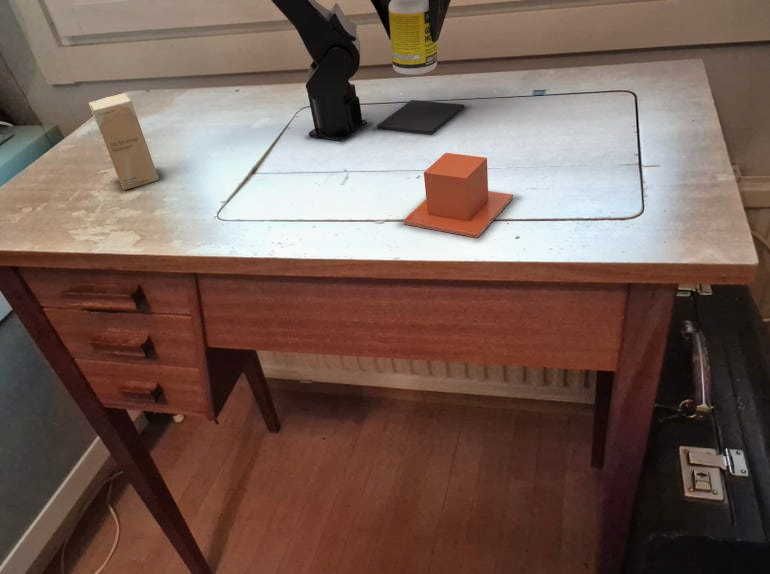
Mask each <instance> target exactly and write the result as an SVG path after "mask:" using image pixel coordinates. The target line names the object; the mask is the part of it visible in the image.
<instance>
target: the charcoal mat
mask: <svg viewBox="0 0 770 574" xmlns="http://www.w3.org/2000/svg"><path fill="white" fill-rule="evenodd" d="M465 106H466V105H465V104H464V103H453V102H441V101H428V100H416V99H411V100H410V101H408V102H407V103H405V104H404V105H403V106H401V107H400V108H399V109H397V110H396V111H395V112H394V113H391V115H389V116H387V118H385V119H384V120H382V121H381V122H380V123H378V124H377V125H376V129H377V130H384V131H385V130H386V131H395V132H404V133H411V134H412V133H413V134H421V135H422V134H423V135H430V136H431V135H433V134H434V133H436V132H437V131H438V130H439V129H440V128H442V127H443V126H444V125H445V124H446V123H448V122H450V121H451V120H452V118H454V117H455V116H456V115H457V114H459V113H460V112H462V110H464V109H465V108H466V107H465Z"/></svg>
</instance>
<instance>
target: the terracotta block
mask: <svg viewBox="0 0 770 574" xmlns="http://www.w3.org/2000/svg"><path fill="white" fill-rule="evenodd" d="M488 175H489V173H488V157H485V156H484V157H483V156H478V155H477V156H476V155H468V154H462V153H461V154H459V153H451V152H444V153H443V154H442V155H441V156H440V157H439V158H438V159H437V160H435V162H433V163H432V164H431V165H430V166H429V167H428V168H427V169H425V170H424V171H423V180H424V190H425V200H426V201H427V211H428V214H429V215H434V216H440V217H446V218H451V219H457V220H463V221H469V220H470V219H471V218H472V217H473V216H474V215H475V214H476V213H477V212H478V211H479V210H480V209H481V208H482V207H483V205H484V204H485V203H486V202H487V201H488V191H489V176H488Z"/></svg>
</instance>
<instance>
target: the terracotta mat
mask: <svg viewBox="0 0 770 574" xmlns="http://www.w3.org/2000/svg"><path fill="white" fill-rule="evenodd" d="M512 200H514V195H513V194H511V193H503V192H498V191H490V190H488V201H487V202H486V203H485V204H484V205H483V207H482V208H481V209H480V210H479V211H478V212H477V213H476V214H475V215H474V216H473V217H472V218H471V219H470V220H469V221H463V220H457V219H451V218H446V217H440V216H434V215H429V214H428V211H427V201H426V199H425V200H424V201H423V202H422V203H420V204H419V205H418V206H417V207H416V208H415V209H414V210H413V211H411V212H410V214H409V215H408V216H407V217H405V218H404V219H403V224H404V225H406V226H407V225H408V226H413V227H417V228H423V229H429V230H432V231H433V230H435V231H440V232H445V233H450V234H455V235H460V236H465V237H471V238H476V239H478V238H479V237H480V236H481V235H482V233H484V232H485V231H486V229H488V227H489V226H490V225H491V224H492V223H493V221H494V220H495V219H497V217H498V216H499V215H500V214H501V213H502V212H503V210H505V208H506V207H507V206H508V205H509V204H510V202H512Z"/></svg>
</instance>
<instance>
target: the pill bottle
mask: <svg viewBox="0 0 770 574" xmlns="http://www.w3.org/2000/svg"><path fill="white" fill-rule="evenodd" d="M389 21H390V35H391V40H390V50H391V62H392V63H391V64H392V68H393V70H394V71H395V72H396V73H398V74H400V75H401V74H402V75H406V76H407V75H409V76H410V75H411V76H413V75H415V76H416V75H423V74H427V73H429V72H432V71H433V70H434V69H435V68H437V65H438V41H436V42H432V39H431V33H430V19H429V1H428V0H391V1H390V3H389Z"/></svg>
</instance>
